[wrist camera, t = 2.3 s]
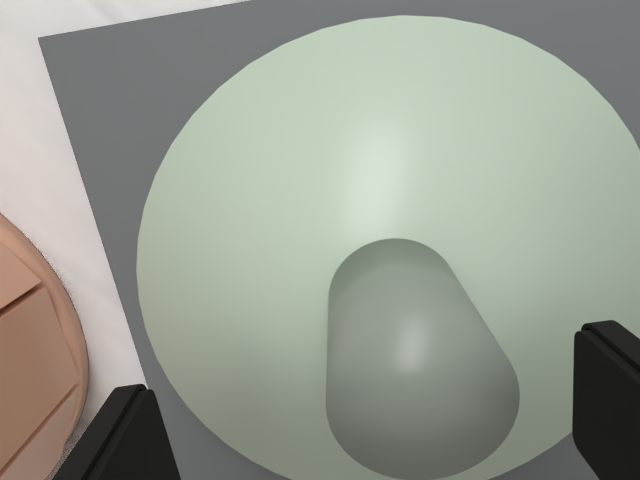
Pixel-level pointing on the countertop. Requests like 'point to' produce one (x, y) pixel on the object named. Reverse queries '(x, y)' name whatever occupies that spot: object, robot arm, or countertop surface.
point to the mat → (217, 68)
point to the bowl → (36, 361)
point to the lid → (390, 251)
